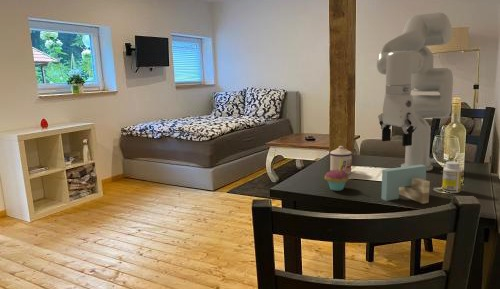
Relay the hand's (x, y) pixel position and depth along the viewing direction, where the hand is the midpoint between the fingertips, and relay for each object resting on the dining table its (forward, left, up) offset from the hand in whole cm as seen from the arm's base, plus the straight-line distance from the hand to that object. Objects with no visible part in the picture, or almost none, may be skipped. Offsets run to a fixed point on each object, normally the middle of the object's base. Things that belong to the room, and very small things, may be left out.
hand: (396, 143), depth 122 cm
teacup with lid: (-3, -35, -19) cm, 40 cm away
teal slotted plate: (-3, +1, -19) cm, 19 cm away
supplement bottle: (-22, +3, -19) cm, 29 cm away
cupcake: (+12, -16, -19) cm, 28 cm away
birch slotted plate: (-5, +1, -19) cm, 19 cm away
